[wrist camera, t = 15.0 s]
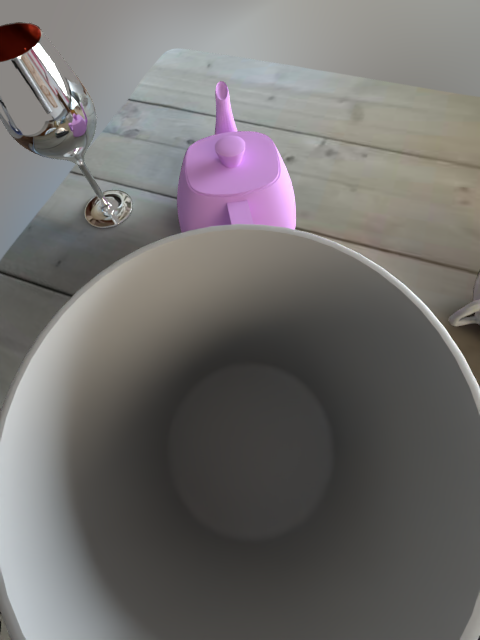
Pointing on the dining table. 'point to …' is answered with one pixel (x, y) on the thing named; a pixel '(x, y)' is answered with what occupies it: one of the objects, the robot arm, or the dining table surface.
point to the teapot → (234, 178)
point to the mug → (241, 453)
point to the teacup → (468, 309)
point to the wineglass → (52, 112)
